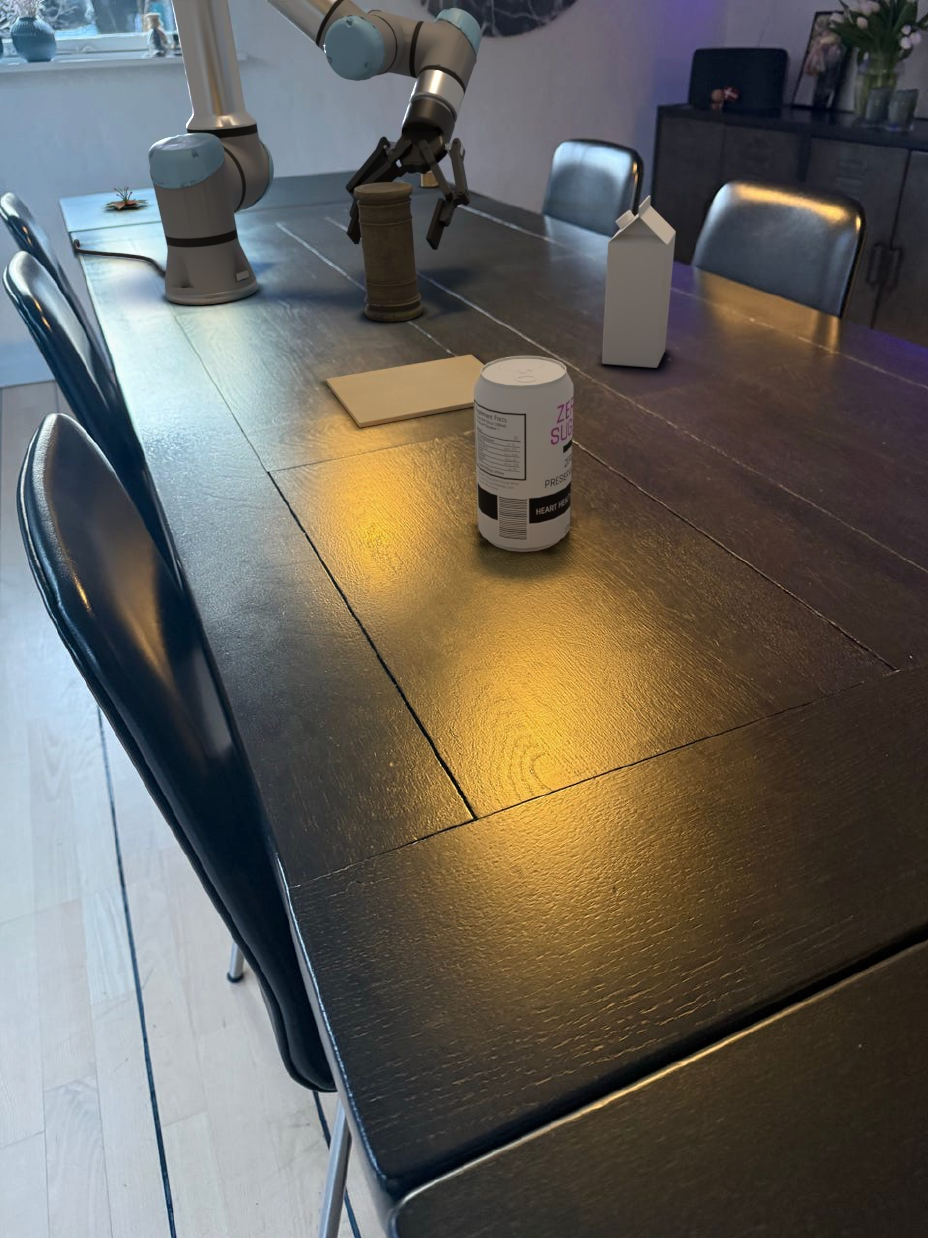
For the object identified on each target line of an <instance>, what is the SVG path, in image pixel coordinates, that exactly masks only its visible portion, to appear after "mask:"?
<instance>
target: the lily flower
mask: <svg viewBox="0 0 928 1238" xmlns="http://www.w3.org/2000/svg"><path fill="white" fill-rule="evenodd" d="M117 188H118V189H119V190H118V189H117ZM117 188H115V187H113V190H114V191H116V192H118V193H119V194H118V193H116V197H120V198H121V199H122V200H117V201H115V200H114V201H110V202H107V203H106V204H104V205H103V207H104V208H102V210H103V209H112V208H113V209H114V208H117V209H118V210H120V209H122V208H133V207H134V208H139V206H140V204H148V202H147V201H148V199H136V198H133V199H130V197H131V195H132V194H133V191H132V190H130V192H129V194H128V189H129V186H126V188H124V189H123V190H124V191H122V189H121V188H120V186H118V187H117Z"/></svg>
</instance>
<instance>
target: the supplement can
mask: <svg viewBox="0 0 928 1238" xmlns="http://www.w3.org/2000/svg"><path fill="white" fill-rule="evenodd" d="M574 387H575V386H574V382H573V381H572V379H571V376H570V375H569V373H568V370H567V366H566V365H565V364H564V363H563V362H561V361H559V360H556V359H554V358H551V357H545V356H540V355H514V356H507V357H501V358H497V359H494V360H492V361H489V362H487V363H485V364H484V366H483V367H482V368H481V372H480V376H479V378H478V380H477V382H476V384H475V386H474V391H473V397H474V407H473V419H474V420H473V421H474V445H475V446H474V448H475V470H476V471H475V473H476V474H475V476H476V477H475V478H476V497H477V498H476V499H477V502H476V503H477V526H478V529H477V530H478V531H479V532H480V534H481V537H483V538H485V539H486V540H488V542H489V543H490V544H492V545H493V546H495V547H496V548H499V549H502V550H505V551H508V552H519V553H528V552H529V553H530V552H538V551H541V550H545V549H549V548H551V547H552V546H554V545H555V544H557V543H559V542H560V541H561V539H563V538H565V536H566V535H567V533H568V532H570V530H571V500H572V499H571V496H572V495H571V493H572V465H573V464H572V463H573V460H572V459H573V458H572V457H573V428H574V427H573V426H574V425H573V424H574V423H573V422H574V392H575V391H574V390H575V389H574Z"/></svg>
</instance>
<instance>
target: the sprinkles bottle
mask: <svg viewBox="0 0 928 1238" xmlns="http://www.w3.org/2000/svg"><path fill="white" fill-rule="evenodd" d="M420 181H421V182H420V186H421V187H422V188H425V189H426V188H428V189H429V188H430V189H431V188H436V187H439V185H438V183H437V181H436V179H435V177H434V175H433V173H432V171H431V170H430V171H429V172H427V173H426V174H421V173H420Z"/></svg>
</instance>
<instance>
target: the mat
mask: <svg viewBox="0 0 928 1238" xmlns="http://www.w3.org/2000/svg"><path fill="white" fill-rule="evenodd" d="M484 365H485V364H484V363H482V362H481V360H479V359H477V357H475V356H474V355H472V354H465V355H459V356H453V357H448V358H441V359H436V360H430V361H424V362H418V363H412V364H411V363H410V364H407V365H400V366H394V367H388V368H382V369H376V370H370V371H365V372H359V373H352V374H348V375H342V376H340V375H339V376H335V377H329V378H325V383H326V385H327V386H328V388H329V389H330V390H331V391H332V393H333V394H334V395H335V397H336V398H337V400H338V401H339V402H340V403H341V405H342V406H343V408H344V409H345V410H346V411H347V413H348V414H349V415H350V416H351V418H352V419H353V420H354V422H355V423H356V424H357V426H358V427H359V428H360V429H361V428H366V427H371V426H376V425H377V426H378V425H382V424H383V425H384V424H388V423H392V422H398V421H403V420H409V419H414V418H420V417H425V416H429V415H430V416H431V415H436V414H441V413H446V412H452V411H458V410H462V409H469V408H474V397H473V391H474V386H475V384H476V382H477V380H478V378H479V376H480V372H481V368H482V367H483V366H484Z"/></svg>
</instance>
